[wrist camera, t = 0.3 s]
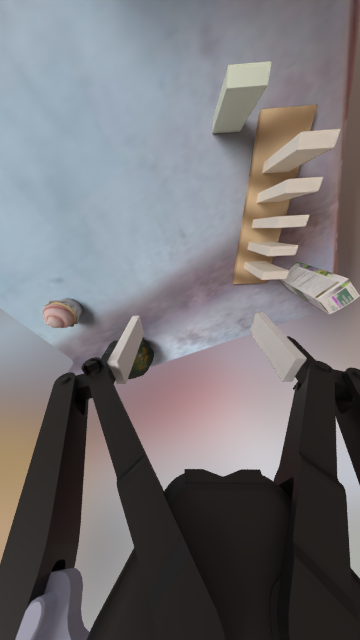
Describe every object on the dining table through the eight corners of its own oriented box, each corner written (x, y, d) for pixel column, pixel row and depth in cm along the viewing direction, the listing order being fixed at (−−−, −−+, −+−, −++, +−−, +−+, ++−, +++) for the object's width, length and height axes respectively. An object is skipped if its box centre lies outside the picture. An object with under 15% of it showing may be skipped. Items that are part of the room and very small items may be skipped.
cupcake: (52, 290, 43) (21, 305, 35) (85, 296, 44) (62, 312, 36) (60, 316, 48) (34, 335, 40) (89, 321, 49) (69, 340, 41)
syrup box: (307, 274, 40) (363, 295, 27) (288, 290, 42) (331, 316, 30) (296, 261, 38) (351, 277, 26) (276, 279, 40) (317, 301, 28)
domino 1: (212, 119, 25) (228, 65, 17) (241, 117, 25) (271, 61, 17) (212, 133, 26) (226, 88, 18) (239, 131, 26) (267, 84, 17)
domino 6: (245, 261, 37) (263, 271, 28) (264, 261, 37) (289, 270, 28) (243, 268, 38) (261, 279, 29) (263, 267, 37) (286, 278, 29)
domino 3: (258, 193, 29) (288, 179, 21) (282, 191, 29) (323, 176, 21) (256, 202, 30) (284, 193, 22) (280, 201, 30) (318, 191, 22)
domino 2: (264, 161, 27) (301, 131, 19) (291, 160, 27) (340, 128, 18) (262, 173, 28) (296, 149, 19) (288, 171, 28) (334, 147, 19)
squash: (162, 368, 54) (140, 381, 40) (130, 376, 58) (99, 390, 43) (154, 332, 56) (130, 332, 42) (123, 342, 60) (92, 344, 46)
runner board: (259, 114, 25) (262, 109, 24) (312, 109, 24) (317, 104, 23) (232, 282, 41) (233, 284, 40) (264, 281, 41) (266, 282, 40)
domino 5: (248, 242, 34) (270, 246, 26) (269, 241, 34) (298, 245, 26) (247, 249, 35) (267, 256, 27) (267, 248, 35) (295, 255, 27)
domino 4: (253, 219, 32) (278, 216, 23) (275, 218, 32) (309, 214, 23) (251, 228, 33) (275, 227, 24) (273, 226, 33) (305, 226, 24)
